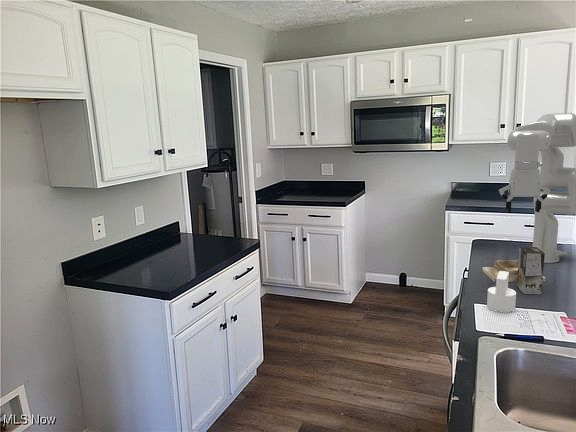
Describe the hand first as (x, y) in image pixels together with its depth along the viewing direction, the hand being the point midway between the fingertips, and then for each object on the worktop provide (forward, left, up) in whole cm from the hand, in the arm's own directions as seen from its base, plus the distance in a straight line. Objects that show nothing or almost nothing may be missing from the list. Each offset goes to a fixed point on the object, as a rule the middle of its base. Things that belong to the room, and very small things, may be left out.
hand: (522, 211), depth 166 cm
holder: (-3, -14, -31) cm, 34 cm away
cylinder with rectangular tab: (+13, +18, -31) cm, 38 cm away
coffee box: (-3, +2, -31) cm, 31 cm away
